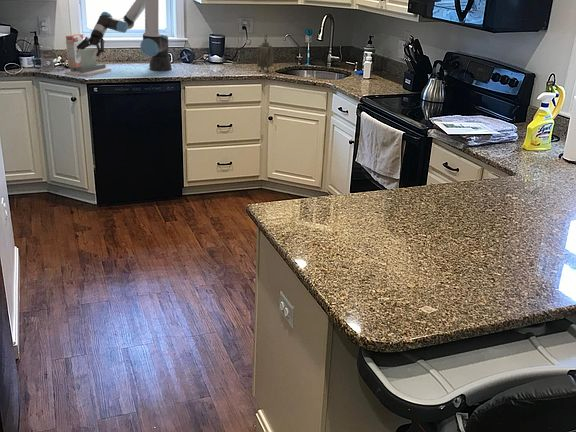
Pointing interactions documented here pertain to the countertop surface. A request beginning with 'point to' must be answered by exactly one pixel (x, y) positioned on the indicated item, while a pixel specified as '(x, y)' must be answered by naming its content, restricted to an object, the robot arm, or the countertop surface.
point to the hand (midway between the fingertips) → (85, 59)
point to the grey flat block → (88, 70)
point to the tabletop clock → (265, 55)
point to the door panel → (87, 58)
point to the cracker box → (73, 49)
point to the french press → (43, 59)
